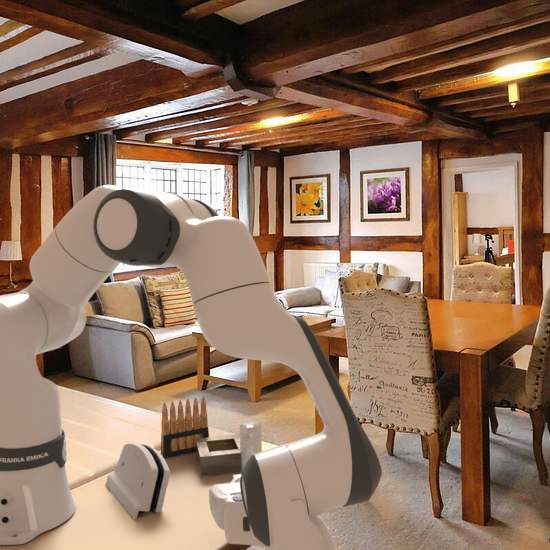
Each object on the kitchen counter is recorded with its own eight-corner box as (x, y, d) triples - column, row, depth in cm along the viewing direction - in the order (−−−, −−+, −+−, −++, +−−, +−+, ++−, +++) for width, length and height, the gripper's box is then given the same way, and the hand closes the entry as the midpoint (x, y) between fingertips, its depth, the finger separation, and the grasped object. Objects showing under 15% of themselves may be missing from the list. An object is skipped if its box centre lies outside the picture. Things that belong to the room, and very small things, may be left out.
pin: (243, 492, 107) (241, 430, 106) (239, 483, 111) (238, 423, 109) (264, 490, 108) (263, 428, 106) (260, 480, 111) (258, 421, 110)
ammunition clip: (163, 458, 123) (161, 404, 122) (160, 455, 124) (158, 402, 123) (210, 449, 128) (208, 396, 126) (207, 446, 129) (205, 394, 128)
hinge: (104, 483, 111) (120, 432, 112) (127, 485, 114) (142, 436, 115) (134, 520, 97) (151, 461, 98) (159, 521, 100) (175, 464, 101)
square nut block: (200, 476, 114) (200, 456, 113) (196, 456, 123) (195, 438, 123) (250, 470, 116) (249, 451, 116) (241, 451, 126) (241, 434, 125)
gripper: (350, 485, 86) (322, 450, 100) (215, 503, 82) (204, 464, 95) (351, 525, 87) (322, 485, 100) (216, 545, 82) (205, 500, 96)
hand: (264, 475), depth 98 cm, fingers open, 8 cm apart
